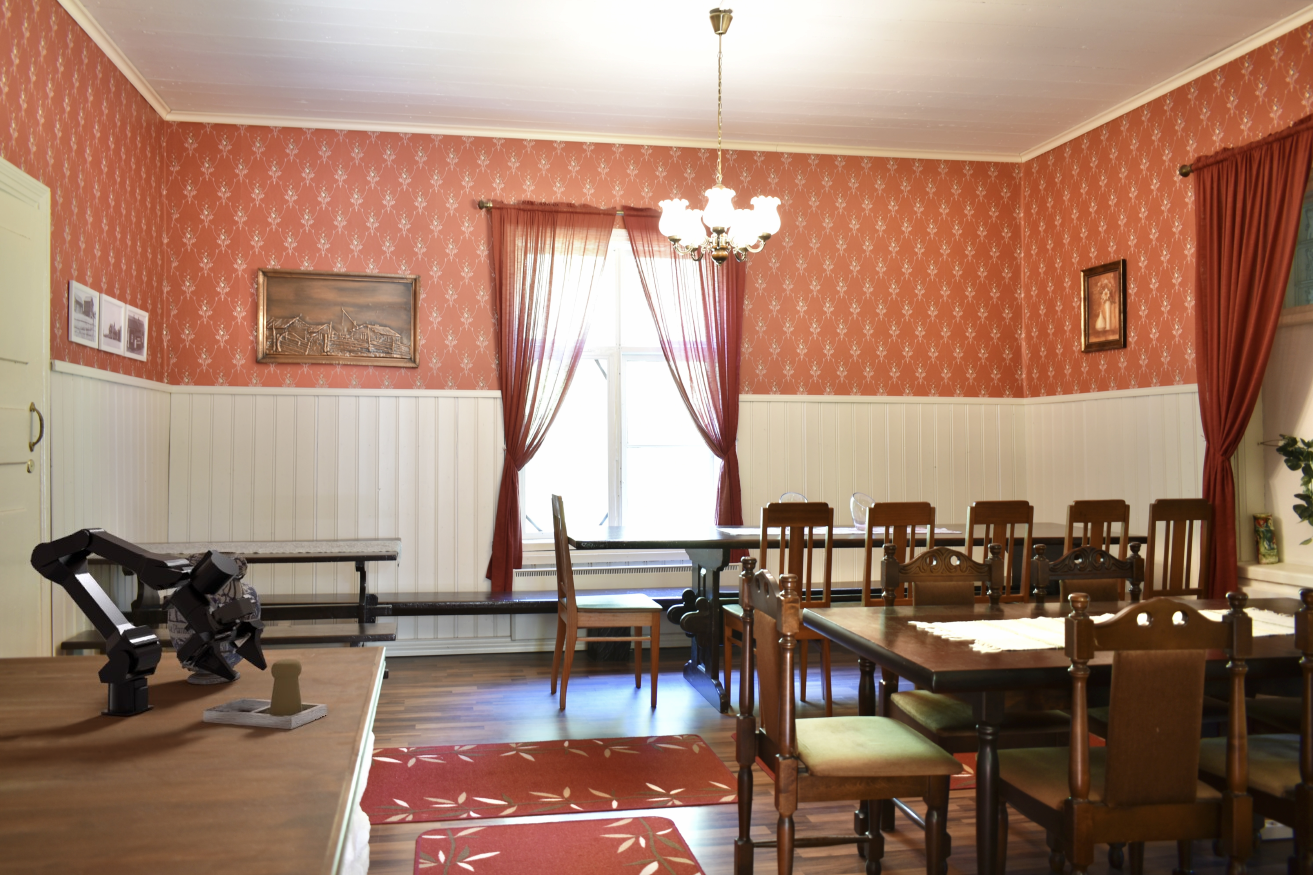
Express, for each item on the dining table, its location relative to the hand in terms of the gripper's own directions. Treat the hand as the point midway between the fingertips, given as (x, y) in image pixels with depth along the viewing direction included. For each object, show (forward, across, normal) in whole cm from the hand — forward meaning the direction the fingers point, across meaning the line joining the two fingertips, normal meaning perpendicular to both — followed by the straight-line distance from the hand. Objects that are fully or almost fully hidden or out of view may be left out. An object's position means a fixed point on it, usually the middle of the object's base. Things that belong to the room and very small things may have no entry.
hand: (250, 673), depth 172 cm
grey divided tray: (+8, 0, +3) cm, 9 cm away
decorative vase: (-14, +28, +26) cm, 41 cm away
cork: (+11, 0, 0) cm, 11 cm away
